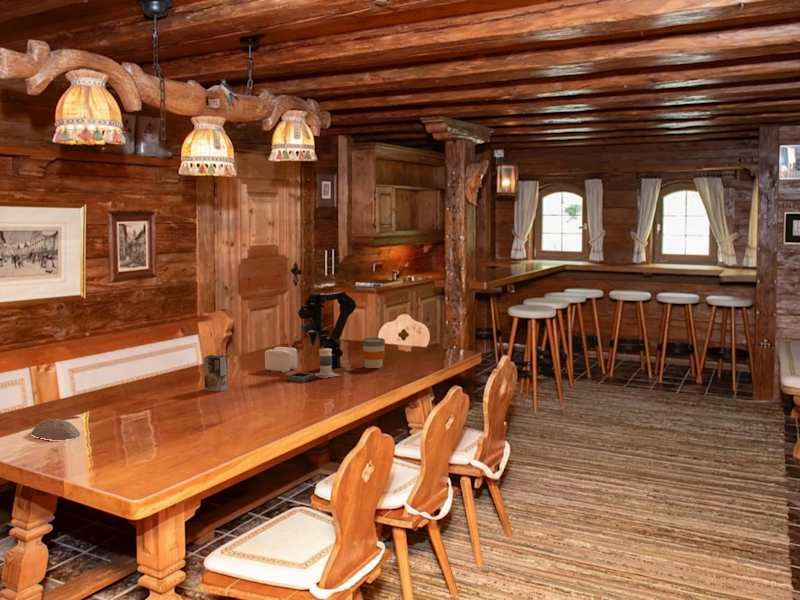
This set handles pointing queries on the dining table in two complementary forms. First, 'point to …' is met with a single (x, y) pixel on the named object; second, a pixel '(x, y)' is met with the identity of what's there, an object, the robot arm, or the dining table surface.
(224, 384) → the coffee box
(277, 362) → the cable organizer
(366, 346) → the reusable coffee cup
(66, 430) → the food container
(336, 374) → the rubber mat
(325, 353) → the cable reel
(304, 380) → the reel dock
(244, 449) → the dining table surface
